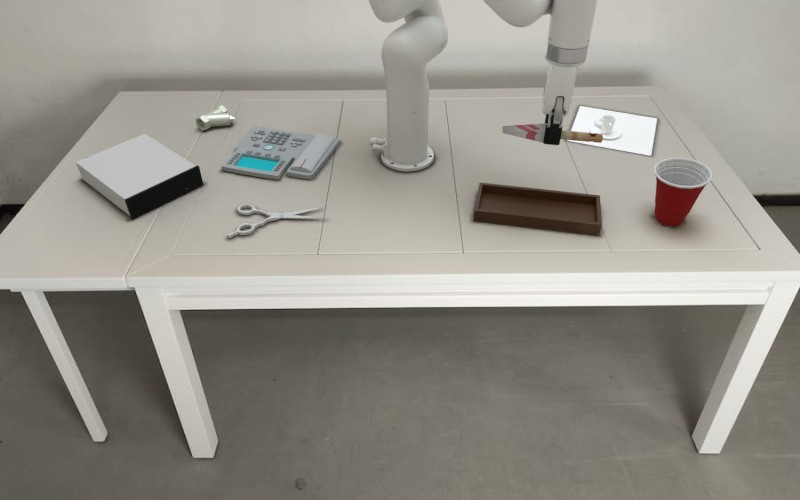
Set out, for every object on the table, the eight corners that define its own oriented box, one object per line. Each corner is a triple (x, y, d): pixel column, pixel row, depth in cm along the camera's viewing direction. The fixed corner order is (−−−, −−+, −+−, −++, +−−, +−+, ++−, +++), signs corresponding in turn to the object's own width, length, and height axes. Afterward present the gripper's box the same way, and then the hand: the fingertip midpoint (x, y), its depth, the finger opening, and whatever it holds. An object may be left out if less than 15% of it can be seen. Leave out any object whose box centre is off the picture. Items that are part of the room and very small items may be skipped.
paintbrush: (503, 118, 130) (602, 127, 129) (501, 130, 132) (599, 139, 131) (503, 127, 127) (604, 137, 126) (501, 139, 129) (601, 149, 128)
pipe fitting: (238, 124, 166) (219, 116, 169) (236, 111, 164) (217, 102, 166) (216, 137, 161) (197, 128, 164) (214, 123, 158) (194, 115, 161)
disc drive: (132, 220, 134) (126, 200, 131) (81, 180, 145) (74, 161, 142) (204, 185, 144) (199, 166, 141) (150, 150, 155) (145, 132, 152)
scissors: (230, 205, 136) (324, 196, 138) (231, 208, 137) (324, 199, 139) (227, 235, 128) (327, 226, 130) (228, 238, 129) (327, 229, 131)
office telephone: (340, 133, 157) (309, 176, 142) (340, 143, 158) (310, 186, 143) (253, 120, 161) (215, 160, 146) (254, 129, 163) (217, 170, 148)
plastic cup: (634, 203, 138) (648, 155, 130) (685, 203, 138) (701, 155, 130) (648, 234, 130) (663, 184, 122) (702, 235, 129) (720, 185, 122)
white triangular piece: (592, 121, 166) (595, 107, 164) (623, 126, 164) (627, 112, 161) (586, 137, 160) (590, 122, 157) (619, 142, 158) (623, 128, 155)
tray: (473, 221, 133) (474, 210, 131) (478, 192, 141) (479, 182, 139) (599, 235, 129) (602, 225, 127) (597, 206, 137) (600, 195, 135)
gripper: (546, 33, 125) (533, 117, 137) (545, 68, 112) (531, 157, 124) (585, 35, 124) (569, 120, 136) (588, 71, 111) (570, 161, 123)
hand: (551, 137), depth 130 cm, fingers closed on paintbrush, 3 cm apart
